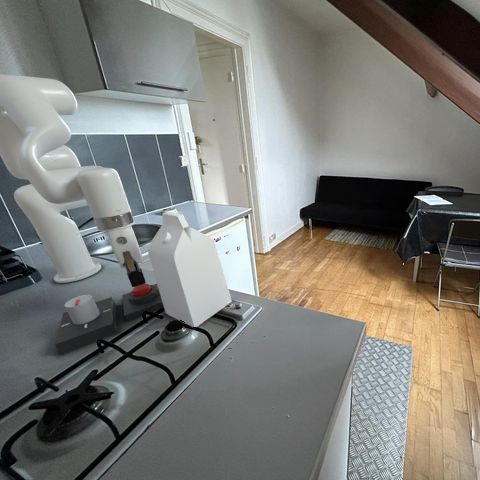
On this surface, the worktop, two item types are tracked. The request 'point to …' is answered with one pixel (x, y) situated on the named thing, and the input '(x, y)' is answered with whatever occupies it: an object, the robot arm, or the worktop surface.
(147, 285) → the power button
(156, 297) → the power block
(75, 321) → the knob
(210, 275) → the milk
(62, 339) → the panel
